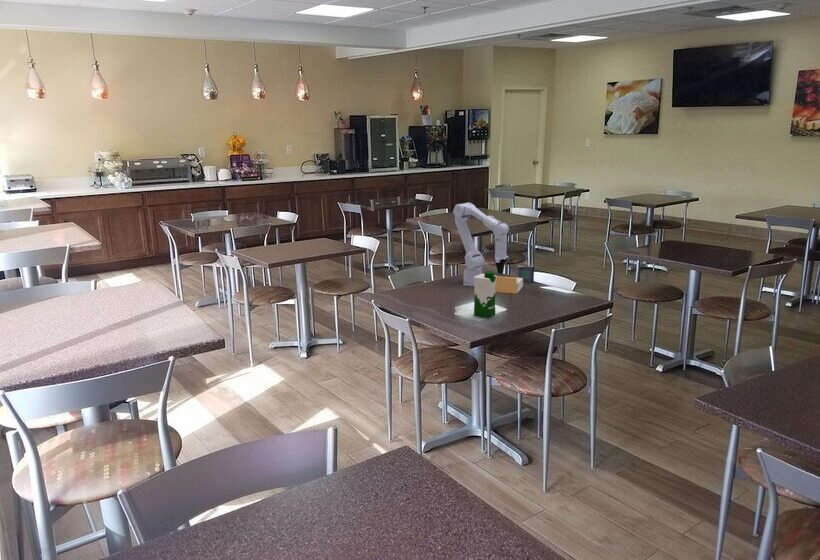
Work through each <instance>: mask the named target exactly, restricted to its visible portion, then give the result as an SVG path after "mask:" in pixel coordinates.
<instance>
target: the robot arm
mask: <svg viewBox="0 0 820 560" xmlns="http://www.w3.org/2000/svg"><path fill="white" fill-rule="evenodd" d="M452 212H453V215H454V223H455V226H456V229H457V231H458V233H459V236H460V239H461V242H462V245H463V247H464V250H465V253H466V254H465V255H464V260H465V263H464V264H465V267H466V268H464V270H463V286H469V287H474V279H473V277H474V276H477V275H480V274H483V267H484V266H485V263H486V261H485V258H484V255H482V253H481V251H479V250H478V249H477V247H476V245H475V243H474V240H473V237H472V235H471V231H470V228H469V226H468V224H467V221H468V219H469V218H470V217H471V216H473V217H475V218H477V219H478V220H479V221H482V222H483V225H484V226H485V227H486V228H488V229H489V230H490V231H492V233H493V235H494V239H495V240H494V241H495V242H494V249H495V250H494V264H495V266H496V270H497V273H498V274H499V275H503V273H504V269H505V265H506V263H507V261H508V259H509V255H507V246H508V245H507V242H508V239H507V238H508V235H507V234H509V232H510V227H509V225H508V224H507V223H506V222H501V220H498V219H496V218H495V216H493V215H487V214H485V213H484V212H482V211H481V210H480V209H478V208H477V207H476V205H475V204H473V203H472V202H464V203H457V204H455V206H454V208H453V211H452Z"/></svg>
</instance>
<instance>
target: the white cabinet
mask: <svg viewBox="0 0 820 560" xmlns="http://www.w3.org/2000/svg"><path fill="white" fill-rule="evenodd" d="M499 277H502V276H499ZM513 278H517V277H513ZM523 287H524V283H523V278H517V286H516V294H518V293H519V292H520V291H521V290H522V288H523Z"/></svg>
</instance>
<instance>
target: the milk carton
mask: <svg viewBox="0 0 820 560" xmlns="http://www.w3.org/2000/svg"><path fill="white" fill-rule="evenodd" d="M494 273H495V272H494V271H491V270H490V271H488V270H487V271H484V273H482V274H480V275H477V276H474V277H473V279H474V286H473V288H474V289H473V290H474V291H473V292H474V293H473V295H474V296H473V297H474V300H473V302H474V304H473V305H474V306H473V316H474V315H476V316H475V317H479V316H480V318H484V317H485V319H488V317H489V318H491V317H493V316H495V315H496V292H495V286H496V280H497V276H498V275H495V274H494ZM492 315H493V316H492Z"/></svg>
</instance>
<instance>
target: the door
mask: <svg viewBox="0 0 820 560" xmlns="http://www.w3.org/2000/svg"><path fill="white" fill-rule="evenodd" d="M496 276H497V280H496V286H495V293H502V294H517V293H516V286H517V277H515V278H513V277H511V276H501V277H499V276H498V275H496Z"/></svg>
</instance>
